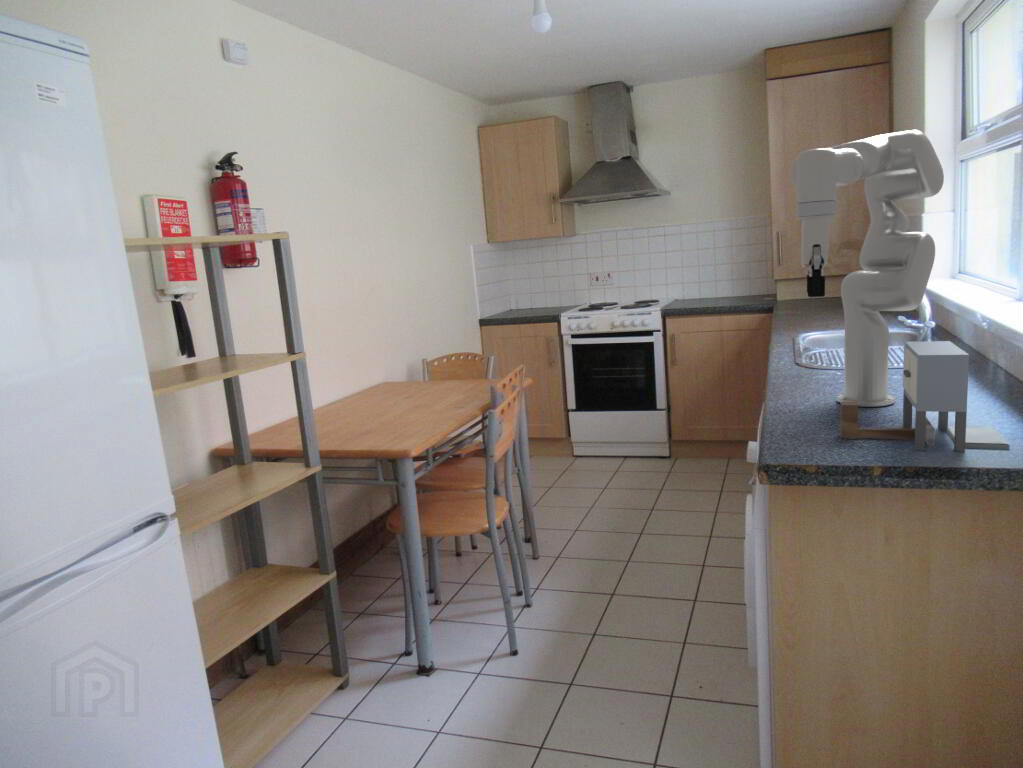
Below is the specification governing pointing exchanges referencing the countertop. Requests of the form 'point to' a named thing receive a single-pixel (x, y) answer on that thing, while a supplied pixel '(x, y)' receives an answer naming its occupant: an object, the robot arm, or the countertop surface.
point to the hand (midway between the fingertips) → (815, 294)
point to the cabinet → (935, 387)
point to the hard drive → (981, 438)
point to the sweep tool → (854, 432)
